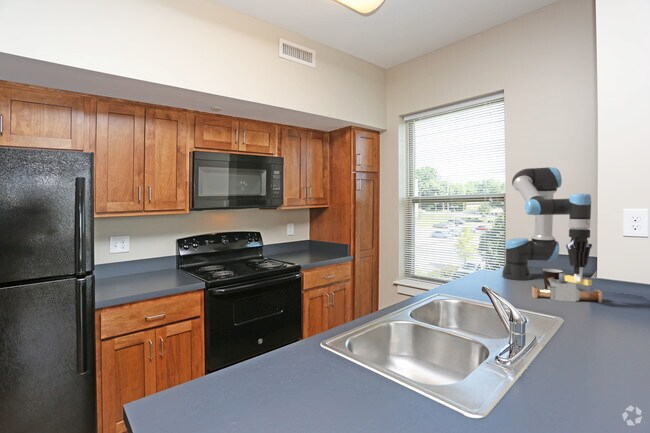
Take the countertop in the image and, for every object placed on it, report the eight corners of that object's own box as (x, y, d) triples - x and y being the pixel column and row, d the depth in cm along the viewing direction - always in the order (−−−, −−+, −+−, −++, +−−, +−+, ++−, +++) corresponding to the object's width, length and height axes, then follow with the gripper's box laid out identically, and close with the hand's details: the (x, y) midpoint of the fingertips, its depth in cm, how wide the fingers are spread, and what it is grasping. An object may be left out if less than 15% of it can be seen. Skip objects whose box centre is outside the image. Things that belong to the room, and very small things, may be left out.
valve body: (531, 294, 164) (531, 278, 164) (595, 298, 155) (596, 281, 155) (535, 299, 157) (535, 282, 157) (603, 303, 148) (603, 285, 148)
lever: (557, 280, 157) (557, 272, 157) (561, 280, 158) (562, 272, 158) (587, 287, 145) (587, 278, 145) (592, 286, 146) (592, 278, 146)
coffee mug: (538, 288, 174) (538, 269, 173) (548, 286, 177) (549, 268, 177) (562, 294, 163) (562, 274, 163) (572, 291, 167) (573, 272, 166)
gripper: (577, 229, 142) (576, 284, 143) (598, 228, 145) (597, 282, 146) (560, 228, 149) (559, 280, 150) (581, 227, 153) (579, 278, 154)
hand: (578, 281), depth 148 cm, fingers closed
